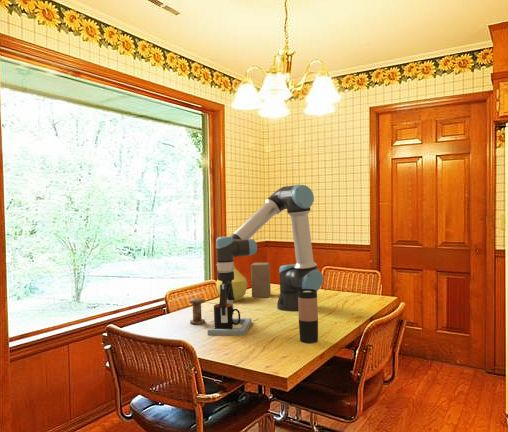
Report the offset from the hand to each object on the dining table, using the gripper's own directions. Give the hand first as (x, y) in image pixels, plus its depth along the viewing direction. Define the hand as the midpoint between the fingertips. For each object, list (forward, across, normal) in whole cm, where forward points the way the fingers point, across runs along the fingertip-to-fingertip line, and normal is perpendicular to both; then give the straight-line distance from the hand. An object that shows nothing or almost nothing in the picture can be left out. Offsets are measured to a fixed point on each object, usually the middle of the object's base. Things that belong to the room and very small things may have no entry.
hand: (227, 318), depth 188 cm
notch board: (+4, 0, +1) cm, 5 cm away
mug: (+5, 0, 0) cm, 5 cm away
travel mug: (+5, +16, +36) cm, 40 cm away
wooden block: (+5, -70, +6) cm, 70 cm away
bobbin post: (+4, -9, -17) cm, 19 cm away
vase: (+5, -59, -10) cm, 60 cm away
